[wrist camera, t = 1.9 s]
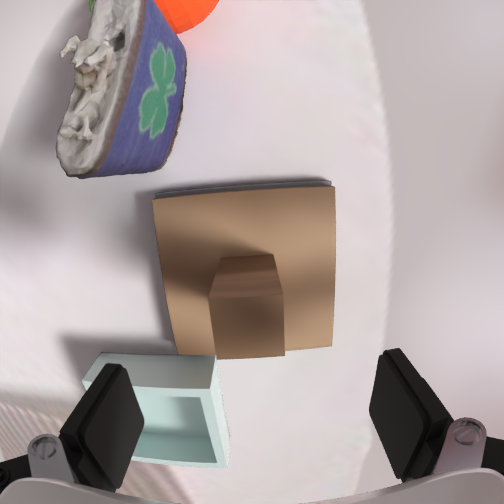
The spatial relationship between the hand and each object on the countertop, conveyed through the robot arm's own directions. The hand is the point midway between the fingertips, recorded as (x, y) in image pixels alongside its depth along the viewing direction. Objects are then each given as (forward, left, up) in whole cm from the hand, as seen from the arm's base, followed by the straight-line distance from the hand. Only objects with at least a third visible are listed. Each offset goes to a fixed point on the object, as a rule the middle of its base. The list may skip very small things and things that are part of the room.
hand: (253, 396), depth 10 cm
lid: (-1, 0, -10) cm, 10 cm away
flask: (-12, -5, -11) cm, 17 cm away
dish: (+11, -8, -11) cm, 17 cm away
